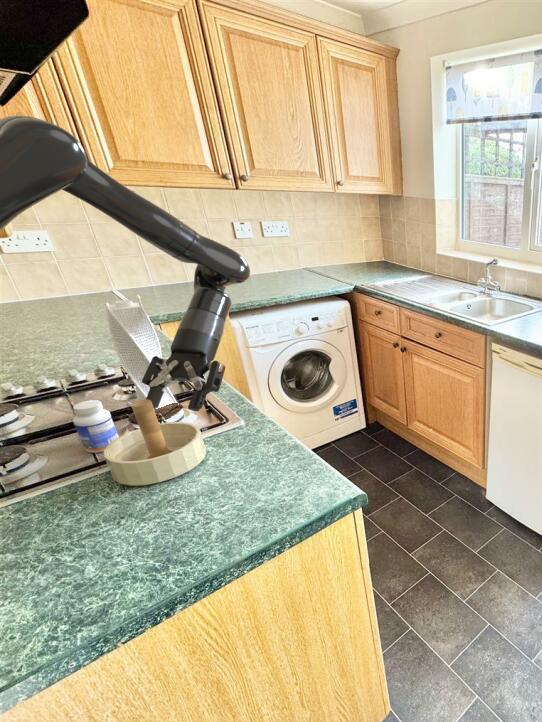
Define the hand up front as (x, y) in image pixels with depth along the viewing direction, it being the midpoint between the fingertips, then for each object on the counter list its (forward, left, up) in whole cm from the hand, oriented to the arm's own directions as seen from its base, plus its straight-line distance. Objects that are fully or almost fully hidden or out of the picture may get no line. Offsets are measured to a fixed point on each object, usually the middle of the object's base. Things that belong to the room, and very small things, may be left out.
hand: (172, 408), depth 83 cm
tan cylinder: (-1, -5, -9) cm, 10 cm away
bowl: (-1, -5, -9) cm, 11 cm away
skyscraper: (-14, +17, -10) cm, 24 cm away
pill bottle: (-16, +2, -10) cm, 19 cm away
